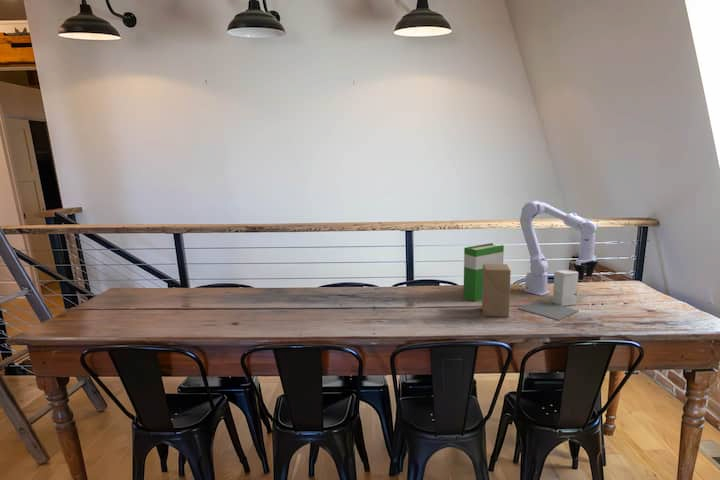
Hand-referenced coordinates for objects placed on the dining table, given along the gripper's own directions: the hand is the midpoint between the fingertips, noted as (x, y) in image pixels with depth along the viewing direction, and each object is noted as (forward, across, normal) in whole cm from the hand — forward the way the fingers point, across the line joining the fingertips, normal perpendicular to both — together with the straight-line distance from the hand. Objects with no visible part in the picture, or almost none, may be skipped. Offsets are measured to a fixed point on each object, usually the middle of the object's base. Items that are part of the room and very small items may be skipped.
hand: (584, 277), depth 194 cm
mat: (+10, -24, +2) cm, 26 cm away
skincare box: (+10, -11, +2) cm, 15 cm away
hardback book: (+11, -30, +32) cm, 45 cm away
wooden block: (+11, -43, +15) cm, 47 cm away
